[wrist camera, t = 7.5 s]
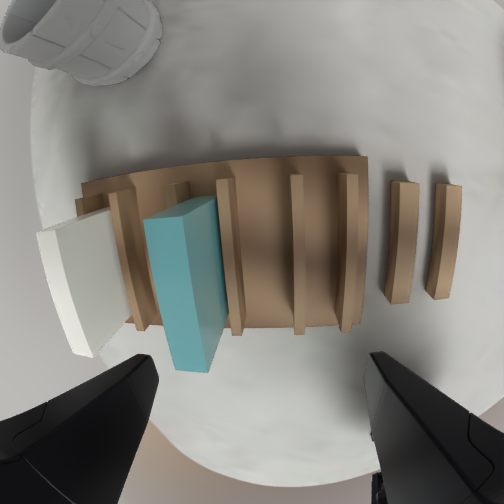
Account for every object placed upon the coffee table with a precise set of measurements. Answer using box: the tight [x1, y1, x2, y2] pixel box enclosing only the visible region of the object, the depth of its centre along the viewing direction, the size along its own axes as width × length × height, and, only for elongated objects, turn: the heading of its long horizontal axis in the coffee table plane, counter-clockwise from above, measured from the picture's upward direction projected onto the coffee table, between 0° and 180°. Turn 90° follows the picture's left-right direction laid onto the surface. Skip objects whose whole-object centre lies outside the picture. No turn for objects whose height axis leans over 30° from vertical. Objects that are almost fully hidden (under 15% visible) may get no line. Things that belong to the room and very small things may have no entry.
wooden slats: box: [384, 181, 462, 304], centre depth 16 cm, size 8×5×2 cm, turn 4°
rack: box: [75, 156, 368, 336], centre depth 17 cm, size 11×19×4 cm, turn 94°
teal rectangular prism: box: [143, 195, 229, 373], centre depth 14 cm, size 7×2×7 cm, turn 4°
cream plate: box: [36, 207, 132, 358], centre depth 15 cm, size 7×2×7 cm, turn 4°
